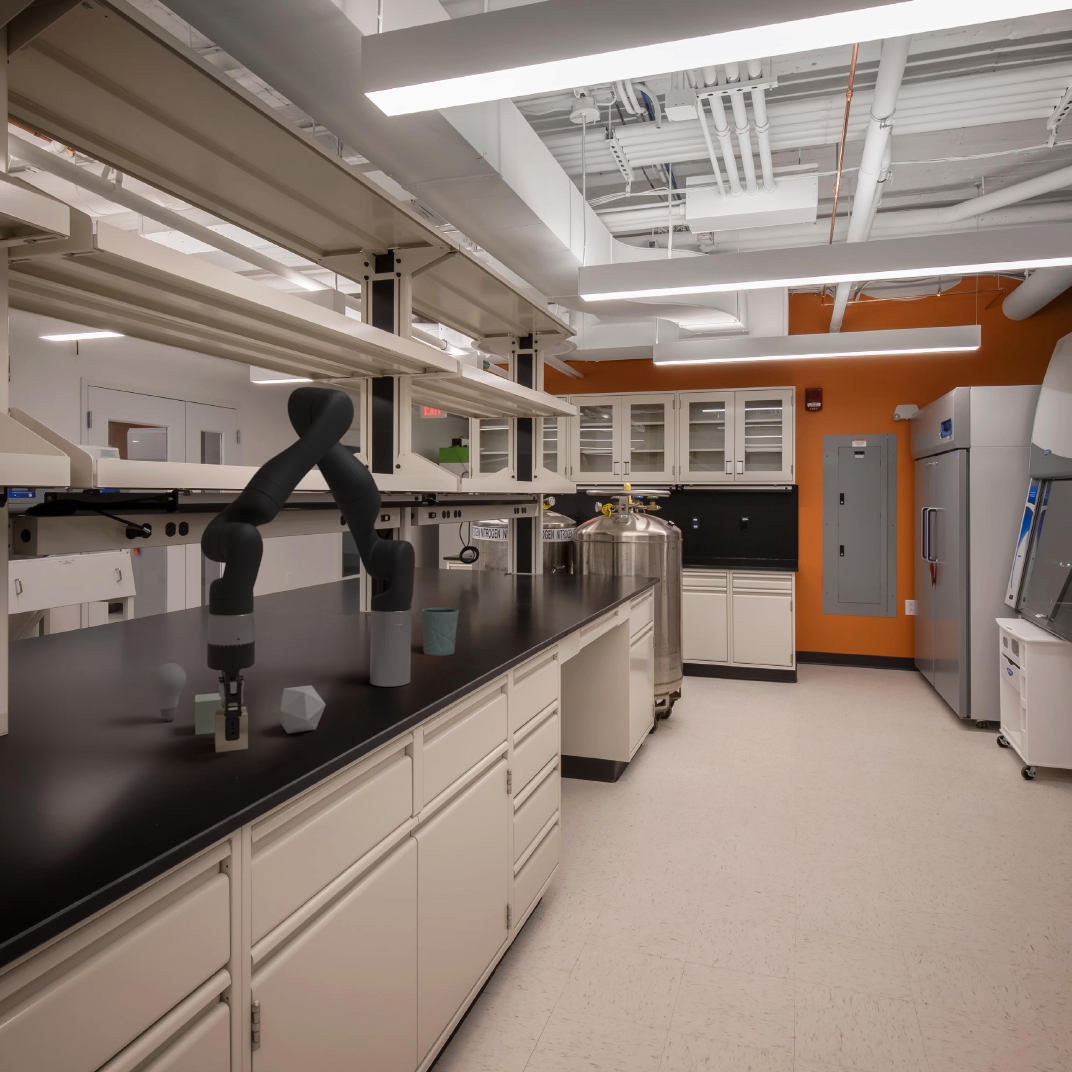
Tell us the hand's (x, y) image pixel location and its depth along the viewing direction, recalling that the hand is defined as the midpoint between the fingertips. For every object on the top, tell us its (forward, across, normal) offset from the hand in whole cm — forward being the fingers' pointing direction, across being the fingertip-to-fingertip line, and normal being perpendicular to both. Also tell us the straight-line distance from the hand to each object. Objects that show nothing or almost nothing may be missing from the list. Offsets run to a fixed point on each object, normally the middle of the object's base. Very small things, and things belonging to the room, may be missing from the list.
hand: (230, 732), depth 127 cm
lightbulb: (+3, +19, +10) cm, 22 cm away
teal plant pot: (+2, +61, -57) cm, 84 cm away
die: (+3, +5, -12) cm, 13 cm away
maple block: (+2, 0, 0) cm, 2 cm away
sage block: (+2, +11, +3) cm, 12 cm away
